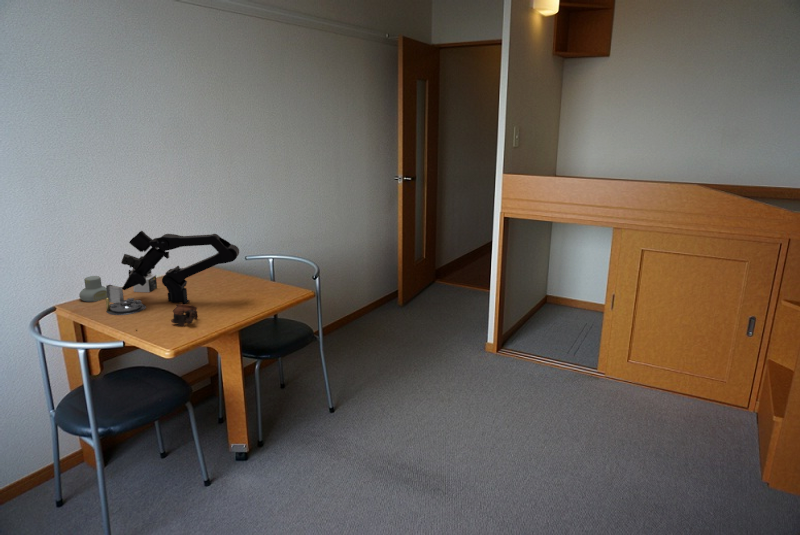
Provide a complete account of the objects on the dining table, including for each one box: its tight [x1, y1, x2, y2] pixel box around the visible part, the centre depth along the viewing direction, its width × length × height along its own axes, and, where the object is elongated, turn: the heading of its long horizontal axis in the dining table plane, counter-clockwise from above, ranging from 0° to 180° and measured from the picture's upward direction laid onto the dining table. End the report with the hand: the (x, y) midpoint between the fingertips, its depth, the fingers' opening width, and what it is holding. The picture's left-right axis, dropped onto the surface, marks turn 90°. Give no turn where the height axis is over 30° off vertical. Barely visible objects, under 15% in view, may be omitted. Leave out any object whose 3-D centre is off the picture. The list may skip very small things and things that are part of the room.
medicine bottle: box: [133, 270, 158, 293], centre depth 241 cm, size 7×7×12 cm
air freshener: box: [78, 275, 108, 303], centre depth 229 cm, size 11×8×10 cm
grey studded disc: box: [105, 284, 143, 313], centre depth 217 cm, size 14×11×8 cm
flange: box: [104, 297, 147, 316], centre depth 217 cm, size 14×14×6 cm
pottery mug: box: [171, 303, 199, 327], centre depth 208 cm, size 12×10×8 cm
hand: (123, 289), depth 221 cm, fingers closed
